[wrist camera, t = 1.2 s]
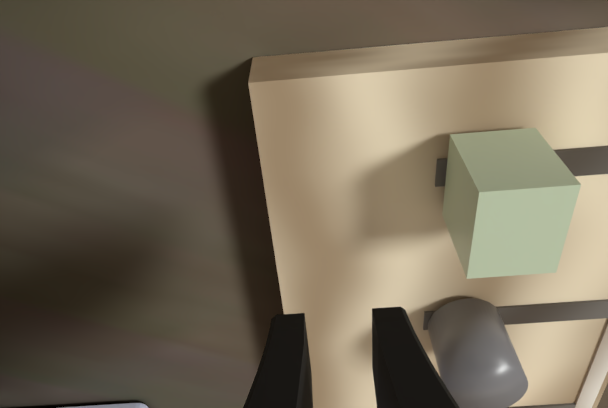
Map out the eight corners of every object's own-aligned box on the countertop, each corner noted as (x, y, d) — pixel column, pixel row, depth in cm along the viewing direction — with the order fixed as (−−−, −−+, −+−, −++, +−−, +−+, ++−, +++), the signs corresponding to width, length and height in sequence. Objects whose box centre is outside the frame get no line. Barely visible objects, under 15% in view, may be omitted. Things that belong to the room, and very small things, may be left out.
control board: (305, 426, 29) (306, 463, 27) (252, 57, 16) (248, 84, 14) (562, 411, 28) (580, 448, 26) (710, 18, 16) (761, 41, 14)
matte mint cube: (442, 214, 17) (466, 278, 15) (449, 134, 15) (479, 192, 13) (518, 208, 17) (556, 272, 15) (535, 127, 15) (581, 184, 13)
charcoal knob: (425, 348, 21) (442, 416, 19) (430, 300, 19) (448, 368, 17) (494, 343, 21) (520, 411, 19) (504, 296, 19) (534, 362, 17)
